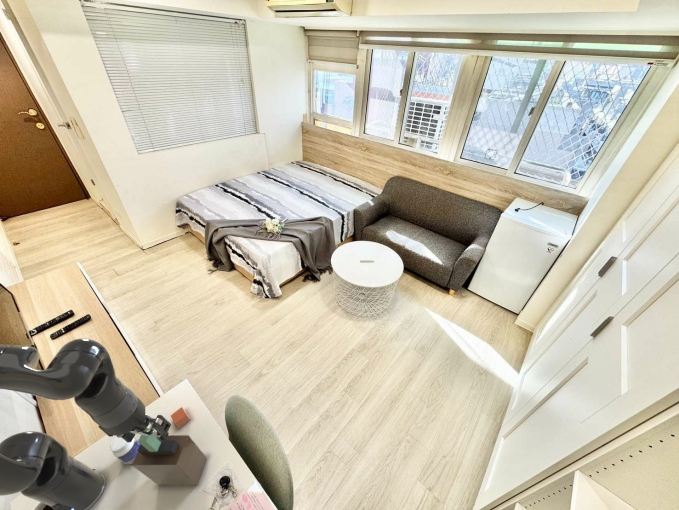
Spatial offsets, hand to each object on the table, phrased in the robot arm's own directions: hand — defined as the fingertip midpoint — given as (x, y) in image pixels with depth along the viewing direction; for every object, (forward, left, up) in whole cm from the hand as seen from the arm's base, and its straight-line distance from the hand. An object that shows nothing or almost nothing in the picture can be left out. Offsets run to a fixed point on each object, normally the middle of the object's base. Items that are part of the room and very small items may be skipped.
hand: (148, 438), depth 69 cm
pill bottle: (-2, +19, -26) cm, 32 cm away
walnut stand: (0, 0, -26) cm, 26 cm away
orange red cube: (+11, +12, -26) cm, 31 cm away
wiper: (0, 0, -8) cm, 8 cm away
